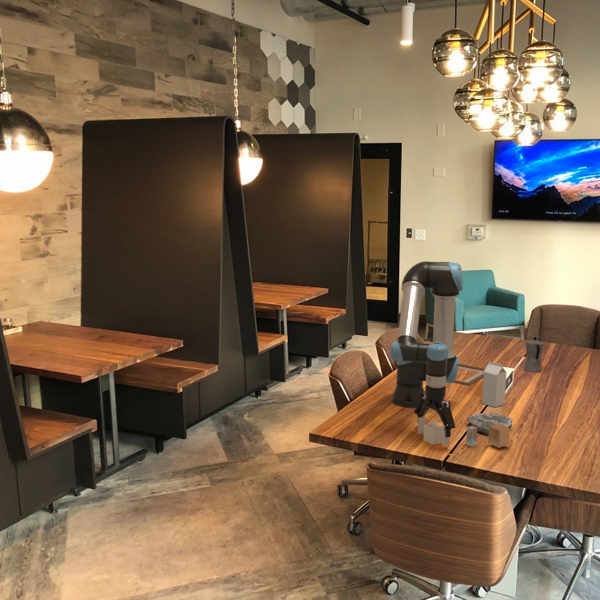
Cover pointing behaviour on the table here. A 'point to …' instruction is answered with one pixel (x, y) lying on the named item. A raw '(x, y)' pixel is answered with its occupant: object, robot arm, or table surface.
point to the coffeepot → (533, 355)
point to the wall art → (472, 379)
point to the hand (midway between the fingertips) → (433, 438)
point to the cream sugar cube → (433, 433)
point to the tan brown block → (498, 435)
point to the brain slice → (488, 421)
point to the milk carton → (494, 385)
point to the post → (471, 436)
